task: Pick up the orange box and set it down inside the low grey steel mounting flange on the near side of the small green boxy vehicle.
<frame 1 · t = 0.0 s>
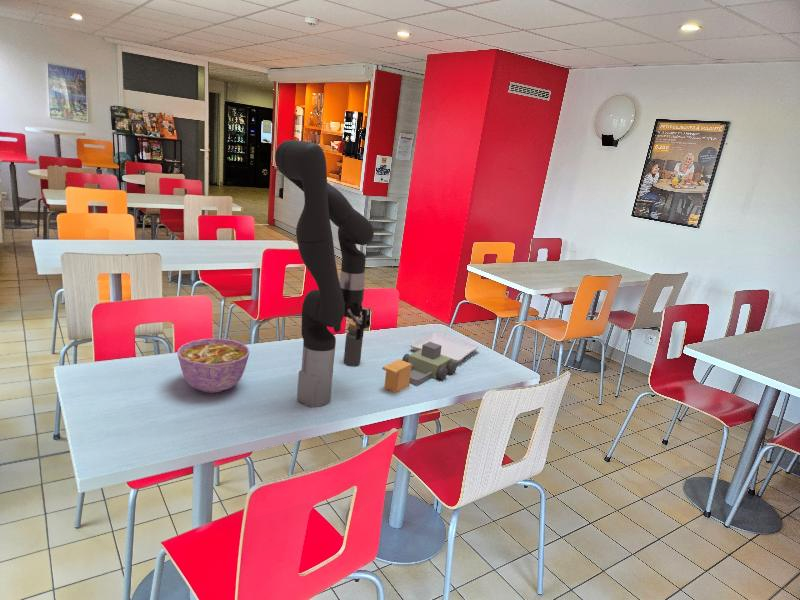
hand: (348, 335, 165), 17 cm above the table, tool pointing down, fingers open, 8 cm apart
bottle: (351, 363, 188), on the table
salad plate: (443, 353, 210), on the table
bowl of food: (213, 387, 159), on the table
orange box: (396, 387, 174), on the table
green boxy vehicle: (427, 370, 190), on the table
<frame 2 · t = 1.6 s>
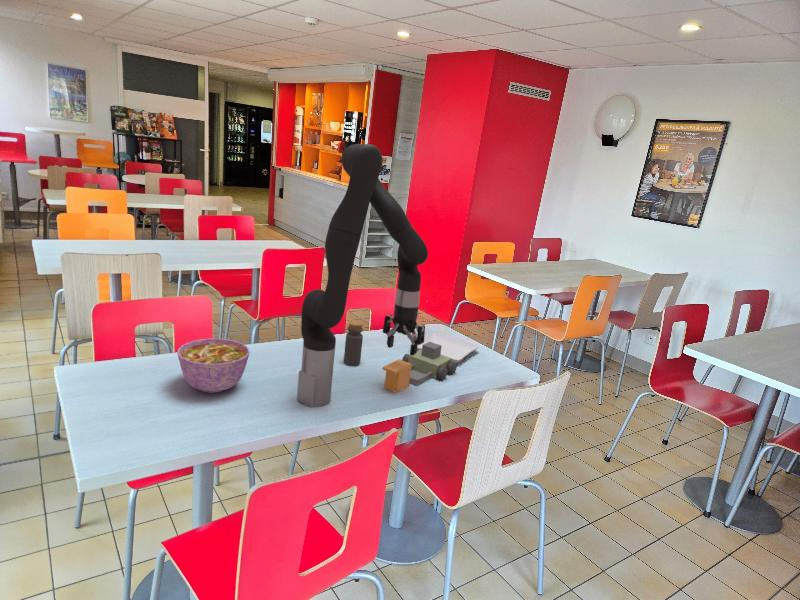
hand: (401, 350, 171), 12 cm above the table, tool pointing down, fingers open, 8 cm apart
nothing on the table moved.
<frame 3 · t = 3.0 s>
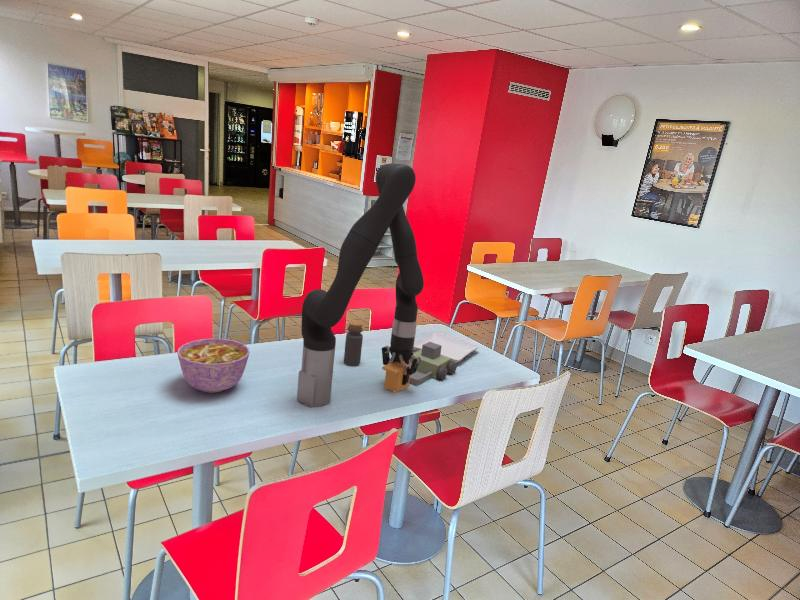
hand: (397, 381, 173), 2 cm above the table, tool pointing down, fingers closed on orange box, 5 cm apart
orange box: (396, 386, 174), on the table, touching gripper
everything else where it was.
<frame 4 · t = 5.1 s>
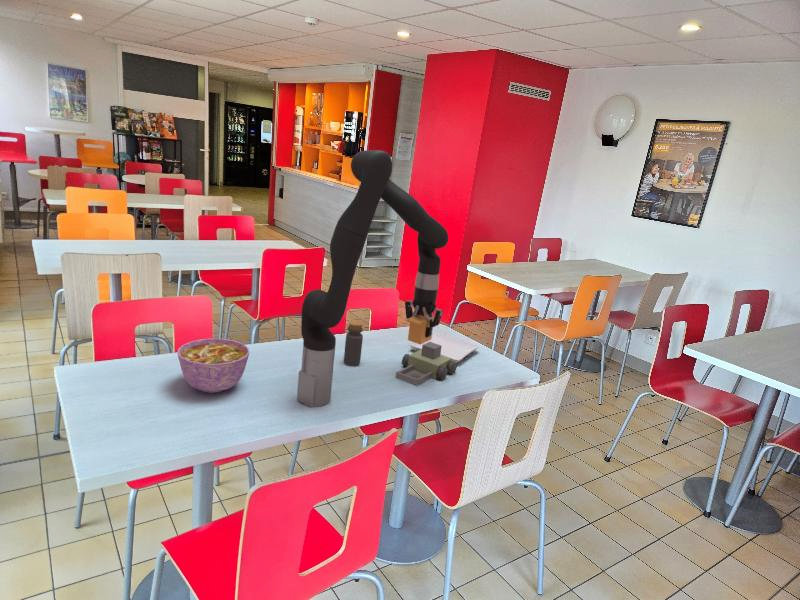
hand: (420, 334, 178), 16 cm above the table, tool pointing down, fingers closed on orange box, 5 cm apart
orange box: (419, 339, 179), point 14 cm above the table, touching gripper
everything else where it was.
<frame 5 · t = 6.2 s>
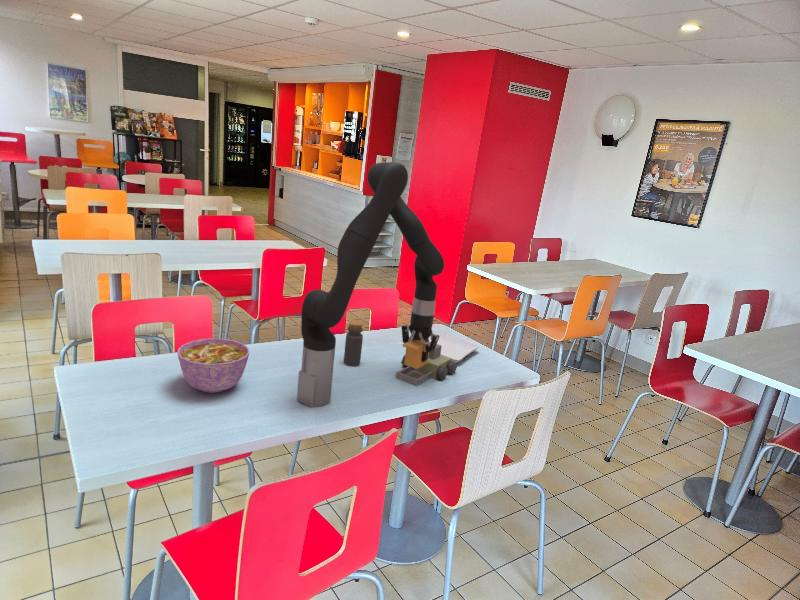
hand: (416, 358, 181), 7 cm above the table, tool pointing down, fingers closed on orange box, 5 cm apart
orange box: (415, 363, 181), point 5 cm above the table, touching gripper
everything else where it was.
when the fingers open (4 cm above the table, at t = 7.3 s): orange box drops 1 cm, resting on green boxy vehicle.
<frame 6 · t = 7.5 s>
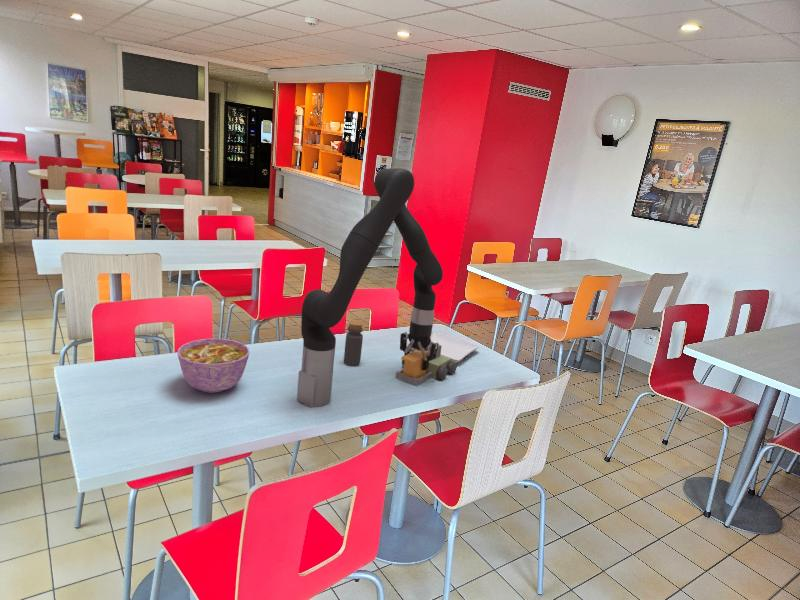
hand: (415, 366, 181), 4 cm above the table, tool pointing down, fingers open, 6 cm apart
orange box: (414, 376, 182), resting on green boxy vehicle
everything else where it was.
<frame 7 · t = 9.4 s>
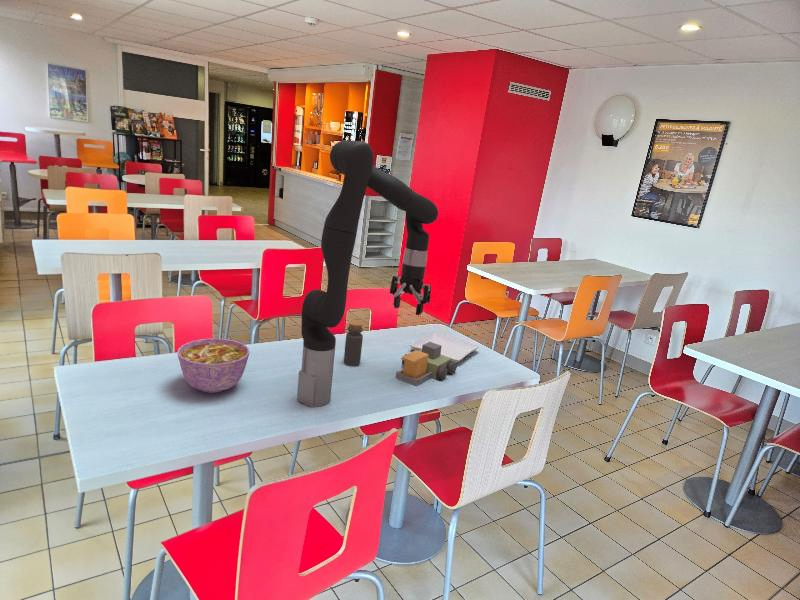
hand: (407, 311, 174), 24 cm above the table, tool pointing down, fingers open, 8 cm apart
nothing on the table moved.
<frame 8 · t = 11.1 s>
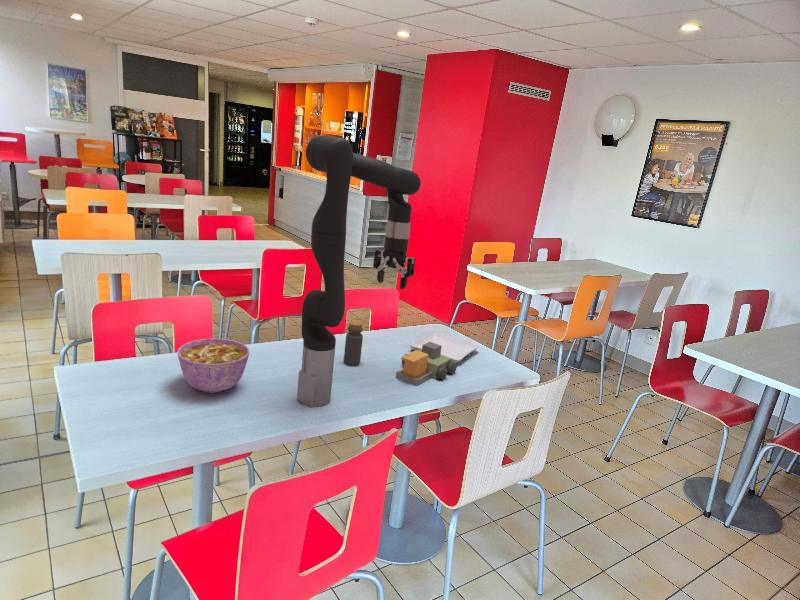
hand: (391, 285, 171), 32 cm above the table, tool pointing down, fingers open, 8 cm apart
nothing on the table moved.
at the end: orange box 0.1 cm from the target spot on the green boxy vehicle, point 0.4 cm above the green boxy vehicle's base; orange box tilted 0°; the gripper is holding nothing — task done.
